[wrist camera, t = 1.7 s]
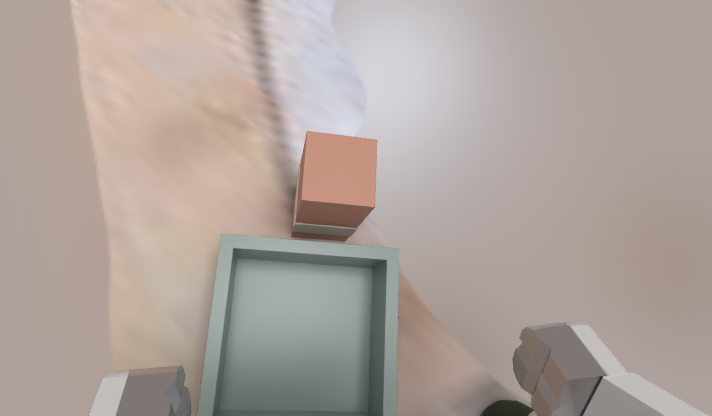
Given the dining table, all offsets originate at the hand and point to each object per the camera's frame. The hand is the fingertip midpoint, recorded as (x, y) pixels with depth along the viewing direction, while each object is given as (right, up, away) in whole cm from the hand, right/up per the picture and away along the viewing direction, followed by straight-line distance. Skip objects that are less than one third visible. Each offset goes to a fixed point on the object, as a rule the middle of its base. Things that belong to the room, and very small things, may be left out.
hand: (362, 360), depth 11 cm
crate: (-5, -7, +28) cm, 29 cm away
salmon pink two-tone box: (-4, +3, +31) cm, 32 cm away
